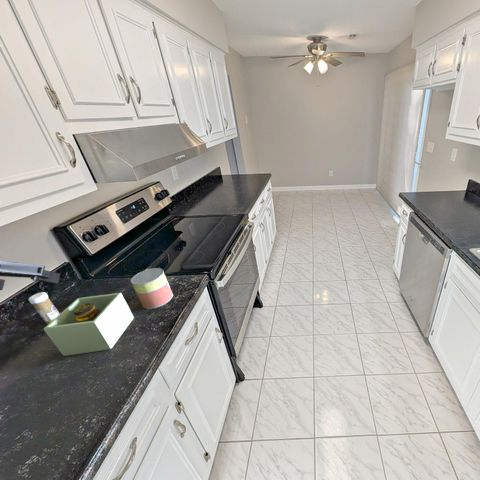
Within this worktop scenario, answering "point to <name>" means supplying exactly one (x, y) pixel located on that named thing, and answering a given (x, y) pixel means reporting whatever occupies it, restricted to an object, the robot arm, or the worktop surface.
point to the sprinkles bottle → (44, 307)
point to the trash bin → (90, 325)
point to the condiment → (86, 312)
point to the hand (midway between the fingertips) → (30, 281)
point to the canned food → (152, 288)
